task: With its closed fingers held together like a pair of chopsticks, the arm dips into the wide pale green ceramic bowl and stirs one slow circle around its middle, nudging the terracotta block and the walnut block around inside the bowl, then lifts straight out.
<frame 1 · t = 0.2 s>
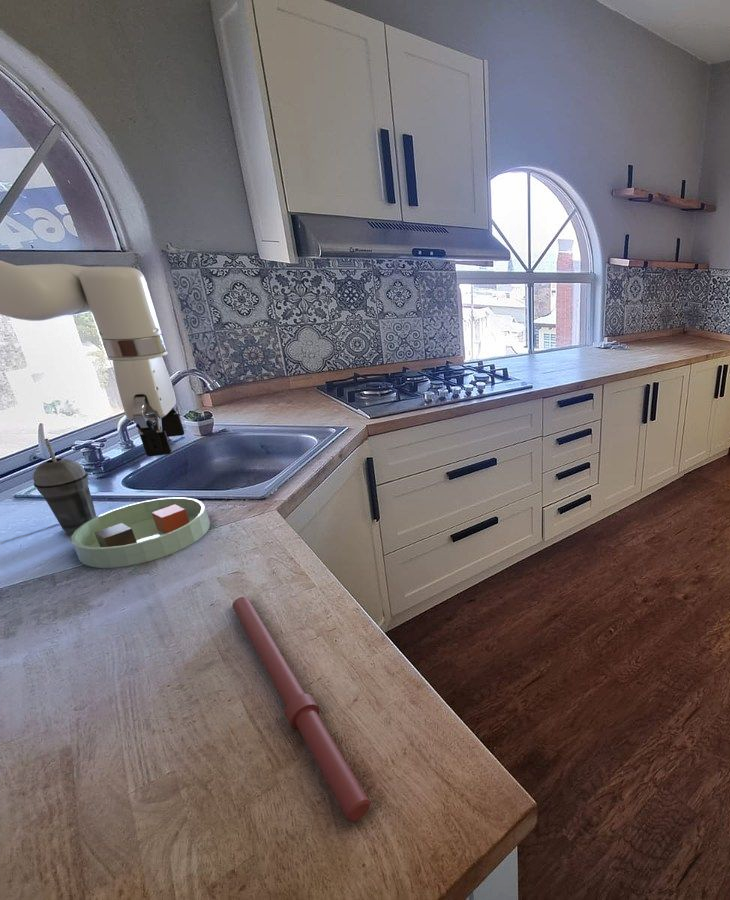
hand: (167, 444, 88), 21 cm above the countertop, tool pointing down, fingers open, 9 cm apart
terracotta block: (174, 528, 100), point 1 cm above the countertop, touching bowl
rolling pin: (290, 694, 66), on the countertop
walnut block: (120, 548, 93), point 1 cm above the countertop, touching bowl
bowl: (149, 540, 97), on the countertop
beverage cup: (83, 532, 99), on the countertop
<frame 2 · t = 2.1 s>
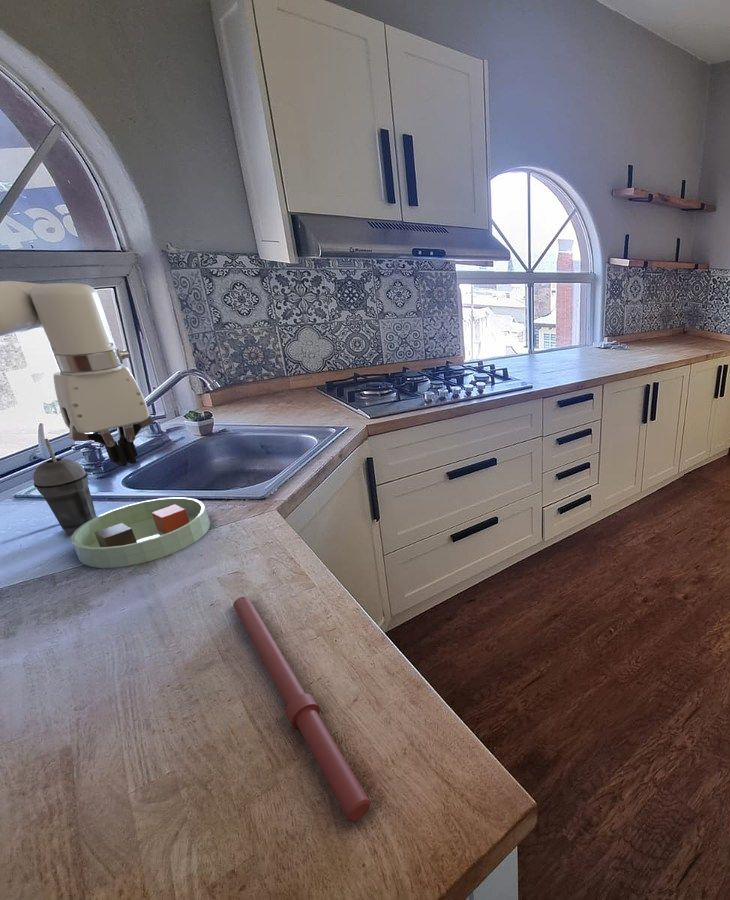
hand: (125, 462, 90), 17 cm above the countertop, tool pointing down, fingers closed
nothing on the countertop moved.
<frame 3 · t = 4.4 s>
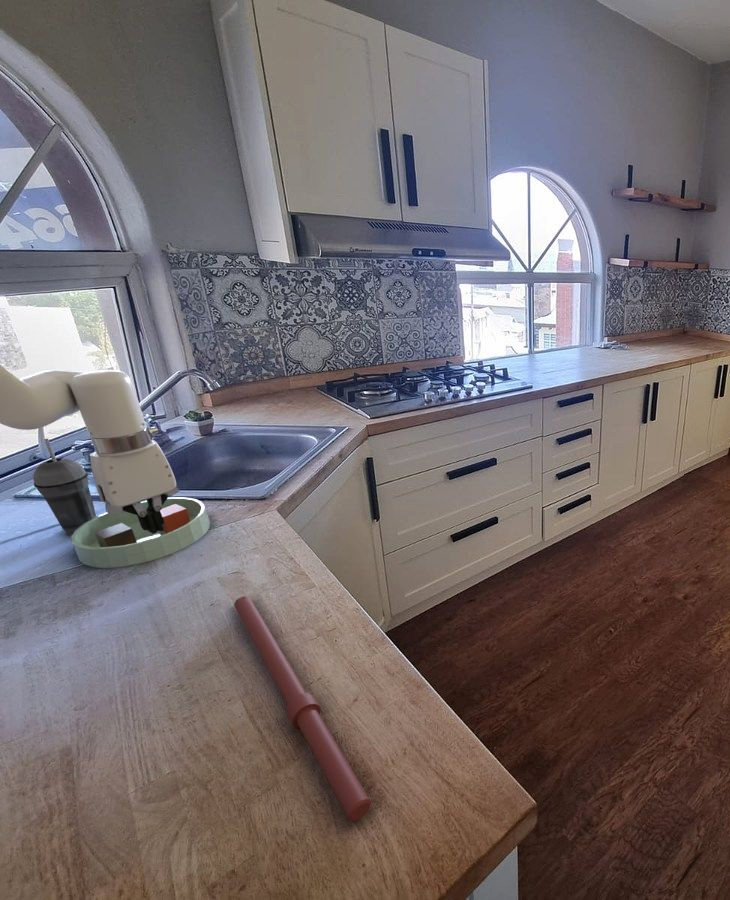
hand: (154, 529, 96), 3 cm above the countertop, tool pointing down, fingers closed
terracotta block: (175, 527, 100), point 1 cm above the countertop, touching gripper
everything else where it was.
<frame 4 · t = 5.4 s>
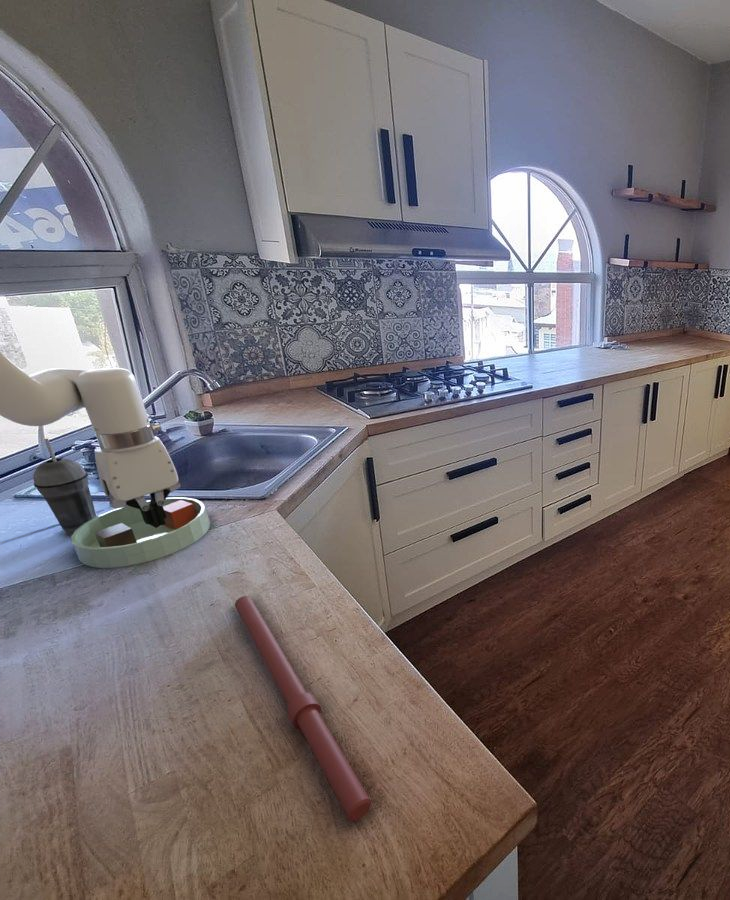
hand: (157, 524, 98), 3 cm above the countertop, tool pointing down, fingers closed
terracotta block: (181, 523, 102), point 1 cm above the countertop, touching bowl
everything else where it was.
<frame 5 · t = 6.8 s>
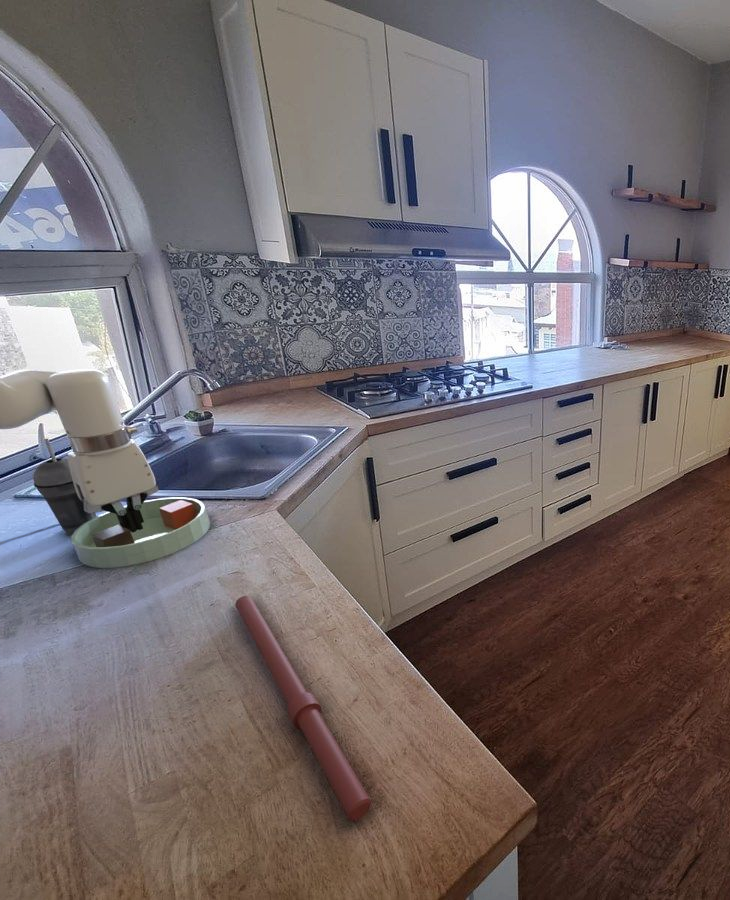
hand: (134, 528, 96), 3 cm above the countertop, tool pointing down, fingers closed
walnut block: (118, 550, 93), point 1 cm above the countertop, touching bowl, gripper
everything else where it was.
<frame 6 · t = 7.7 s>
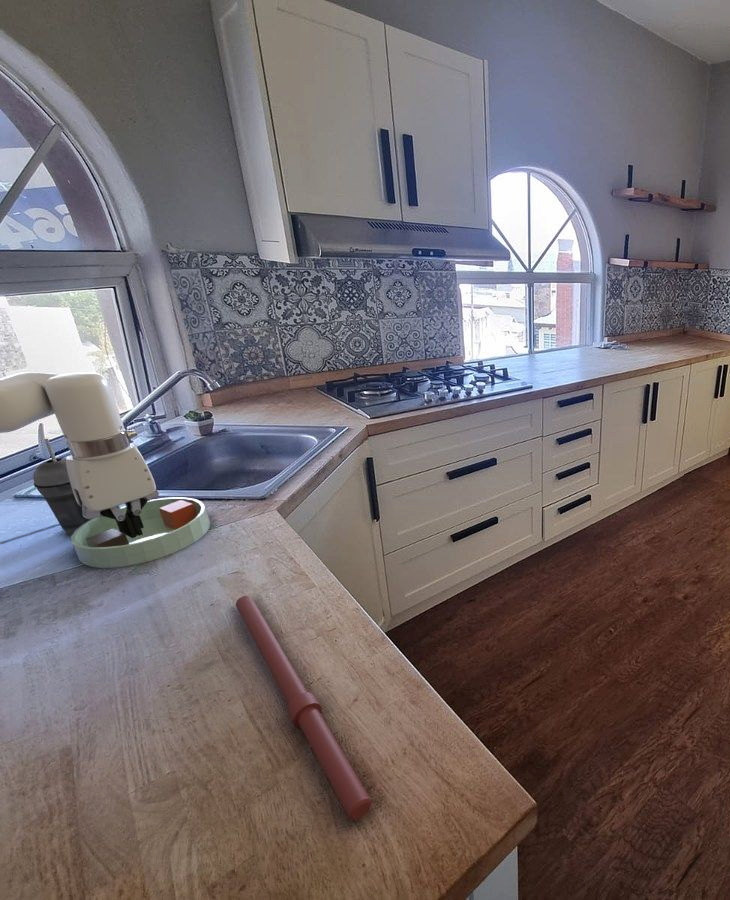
hand: (134, 534, 94), 3 cm above the countertop, tool pointing down, fingers closed
walnut block: (113, 554, 91), point 1 cm above the countertop, touching bowl
everything else where it was.
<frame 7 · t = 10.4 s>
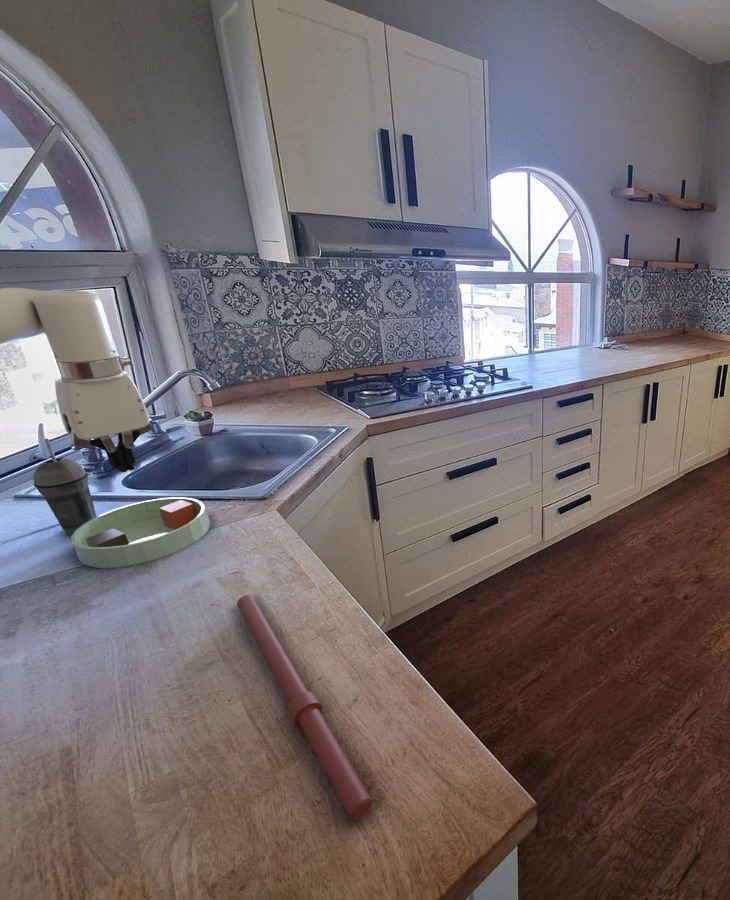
hand: (125, 469, 90), 16 cm above the countertop, tool pointing down, fingers closed
nothing on the countertop moved.
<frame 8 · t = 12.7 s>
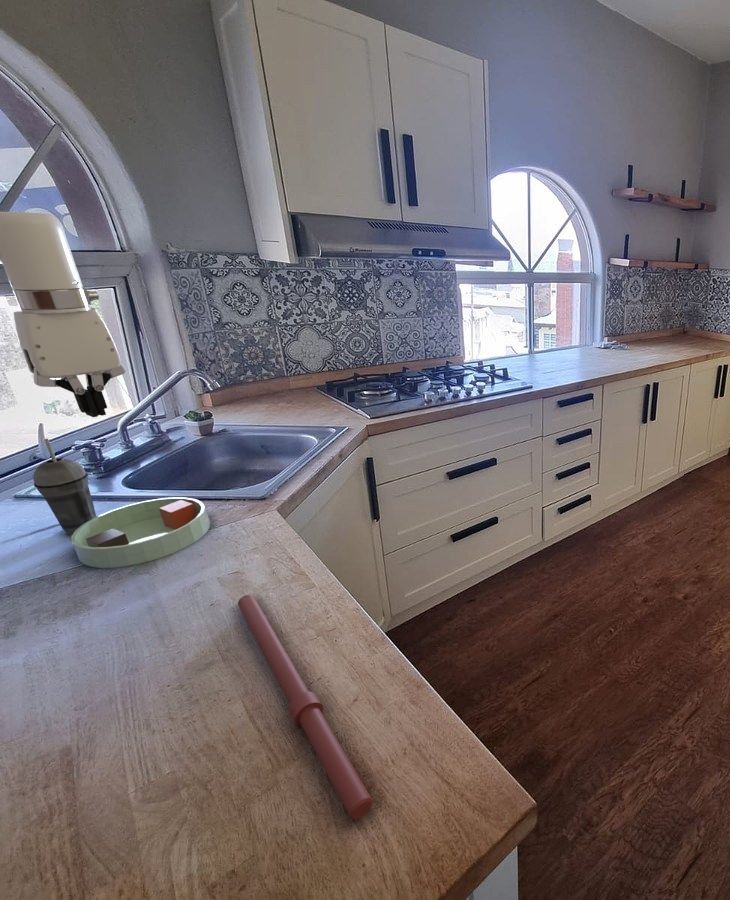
hand: (96, 414, 83), 27 cm above the countertop, tool pointing down, fingers closed
nothing on the countertop moved.
at the end: terracotta block moved 2.0 cm from its start; terracotta block inside the target area in the bowl (6.1 cm from its centre), point 0.6 cm above the bowl's base; walnut block inside the target area in the bowl (5.9 cm from its centre), point 0.6 cm above the bowl's base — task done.
